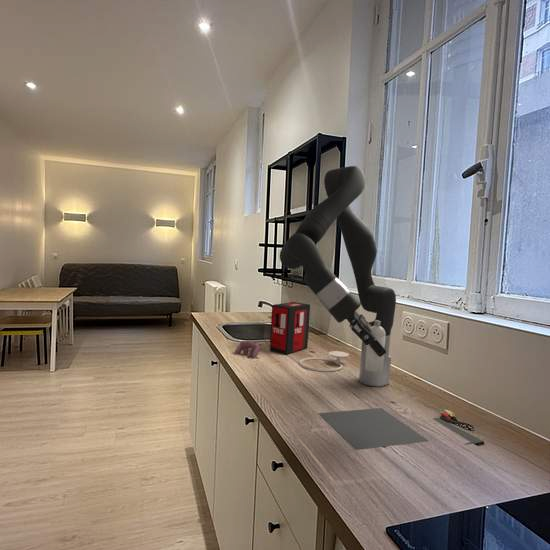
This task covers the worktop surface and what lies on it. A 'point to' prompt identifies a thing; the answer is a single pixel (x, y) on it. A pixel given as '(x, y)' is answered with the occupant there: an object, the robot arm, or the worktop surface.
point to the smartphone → (461, 432)
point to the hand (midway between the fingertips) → (383, 351)
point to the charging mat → (371, 428)
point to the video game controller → (248, 344)
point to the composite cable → (452, 418)
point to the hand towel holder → (332, 353)
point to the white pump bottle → (372, 359)
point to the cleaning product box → (289, 327)
